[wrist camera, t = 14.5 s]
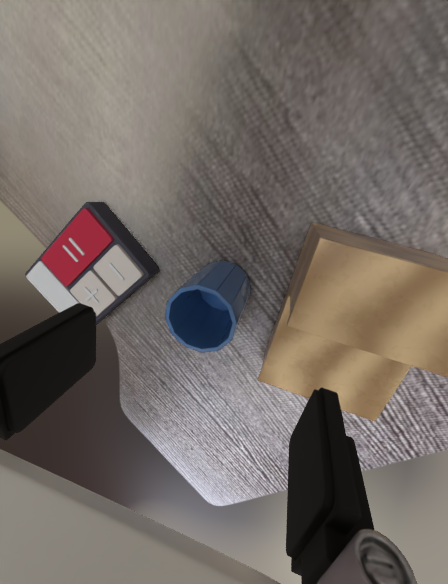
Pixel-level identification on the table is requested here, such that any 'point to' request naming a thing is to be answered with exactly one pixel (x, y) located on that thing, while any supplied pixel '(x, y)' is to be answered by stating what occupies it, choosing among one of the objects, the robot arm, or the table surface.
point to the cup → (209, 307)
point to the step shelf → (358, 320)
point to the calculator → (92, 263)
